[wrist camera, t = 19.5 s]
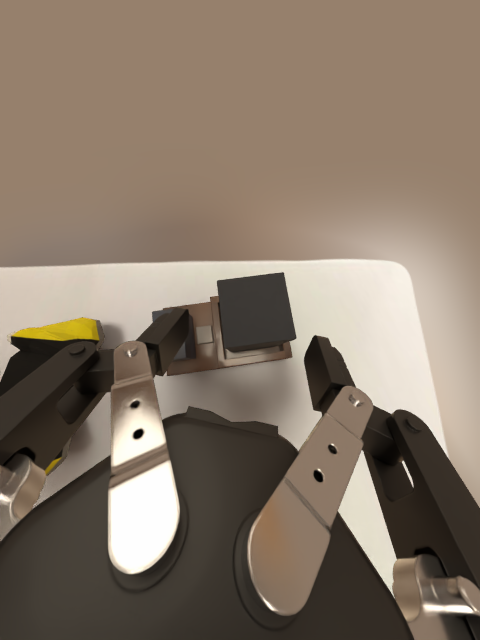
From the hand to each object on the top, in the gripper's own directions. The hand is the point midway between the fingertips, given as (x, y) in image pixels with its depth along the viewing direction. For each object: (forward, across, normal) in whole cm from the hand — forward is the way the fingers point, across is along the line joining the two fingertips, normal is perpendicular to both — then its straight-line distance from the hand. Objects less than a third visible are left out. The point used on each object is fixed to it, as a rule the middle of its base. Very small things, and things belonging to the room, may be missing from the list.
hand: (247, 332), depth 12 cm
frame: (+9, +3, +8) cm, 12 cm away
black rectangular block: (+8, 0, +6) cm, 10 cm away
